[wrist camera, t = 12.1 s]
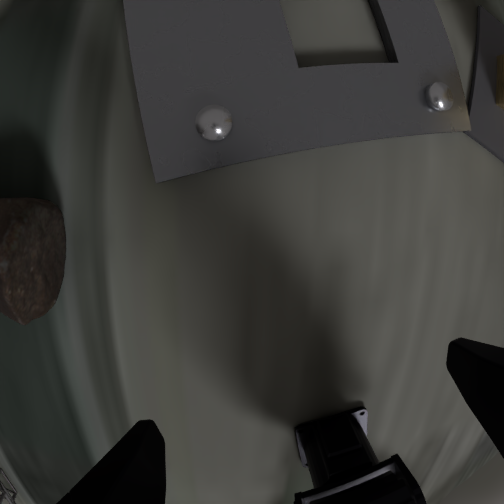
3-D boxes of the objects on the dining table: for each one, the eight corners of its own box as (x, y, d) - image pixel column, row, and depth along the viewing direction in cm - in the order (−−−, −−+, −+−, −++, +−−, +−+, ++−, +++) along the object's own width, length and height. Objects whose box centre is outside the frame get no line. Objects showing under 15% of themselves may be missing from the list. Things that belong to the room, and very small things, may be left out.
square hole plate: (461, 131, 19) (478, 130, 17) (160, 182, 19) (152, 184, 17) (399, -51, 15) (409, -61, 13) (123, -32, 14) (116, -45, 12)
